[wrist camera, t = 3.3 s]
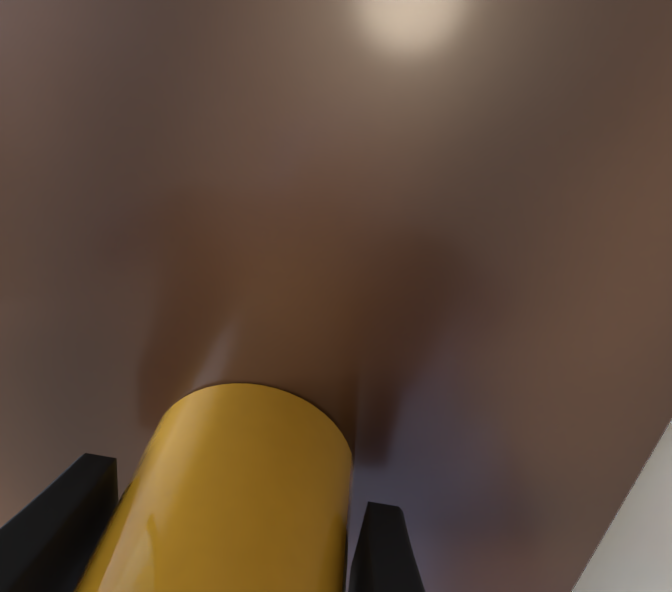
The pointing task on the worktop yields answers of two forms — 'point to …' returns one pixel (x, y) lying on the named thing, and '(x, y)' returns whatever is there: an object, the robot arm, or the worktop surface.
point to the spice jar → (232, 500)
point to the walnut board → (350, 250)
